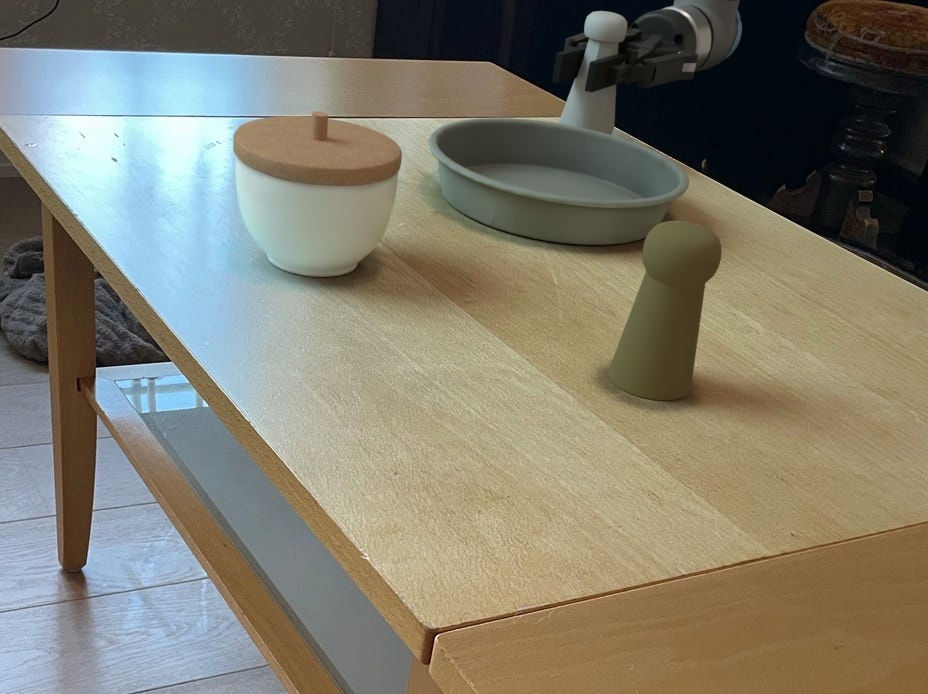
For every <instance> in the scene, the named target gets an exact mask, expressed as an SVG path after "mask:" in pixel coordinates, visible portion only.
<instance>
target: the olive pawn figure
mask: <svg viewBox="0 0 928 694" xmlns="http://www.w3.org/2000/svg"><path fill="white" fill-rule="evenodd" d="M641 255H642V256H641V257H642V259H641V260H642V265H643V267H644V269H645V272H644V276H643V278H642V280H641V283H640V286H639V288H638V291H637V294H636V296H635V299H634V301H633V304H632V307H631V309H630V313H629V315H628V318H627V320H626V323H625V325H624V328H623V331H622V334H621V336H620V339H619V342H618V344H617V347H616V350H615V352H614V355H613V358H612V360H611V363H610V366H609V368H608V372H607V376H608V378H609V380H610V382H611V383H612V384H613V385H615V386H616V387H617V388H619V389H620V390H623V391H624V392H626V393H628V394H631V395H633V396H636V397H640V398H642V399H643V398H644V399H649V400H654V401H673V400H679V399H682V398H685V397H687V396H688V395H689V394H690V392H691V391H692V384H693V378H694V377H693V376H694V369H695V362H696V354H697V348H698V340H699V334H700V326H701V319H702V311H703V303H704V298H705V297H704V296H705V289H706V284H707V283H708V281H710V280H711V279H712V278H713V277H714V276H715V275H716V273H717V271H718V269H719V267H720V265H721V262H722V261H721V260H722V244H721V240H720V238H719V237H718V236H717V234H716V233H714V232H713V230H711V229H709V228H707V227H705V226H703V225H700V224H696V223H693V222H689V221H681V220H667V221H662V222H661V223H660V224H657V225H656V226H654V228H653V229H652V230H651V231H650V232H649V233H648V235H647V237H646V238H644V242H643V246H642V252H641Z"/></svg>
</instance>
